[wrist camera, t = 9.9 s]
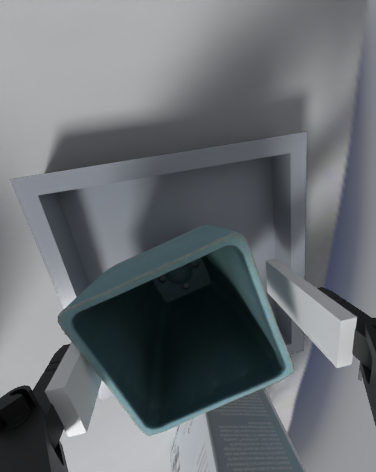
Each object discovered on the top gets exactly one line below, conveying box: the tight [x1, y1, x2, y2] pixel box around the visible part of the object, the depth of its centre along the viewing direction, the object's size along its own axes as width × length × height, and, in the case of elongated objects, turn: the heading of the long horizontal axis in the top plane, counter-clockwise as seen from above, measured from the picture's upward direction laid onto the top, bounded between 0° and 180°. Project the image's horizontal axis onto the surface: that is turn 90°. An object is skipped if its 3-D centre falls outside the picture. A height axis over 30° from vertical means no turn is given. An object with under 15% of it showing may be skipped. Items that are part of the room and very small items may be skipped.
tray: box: [10, 132, 307, 400], centre depth 18 cm, size 19×19×4 cm
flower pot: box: [58, 224, 294, 436], centre depth 14 cm, size 9×9×9 cm
